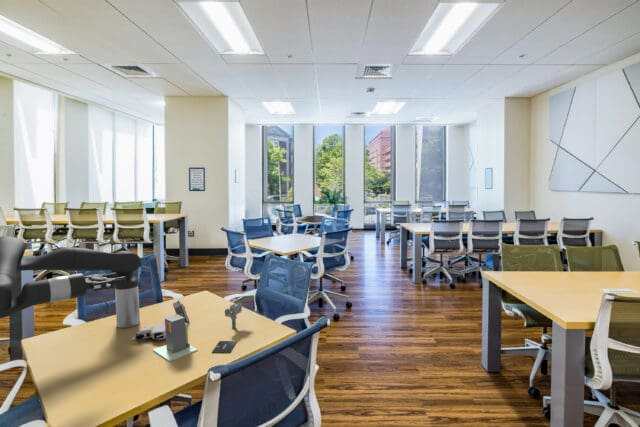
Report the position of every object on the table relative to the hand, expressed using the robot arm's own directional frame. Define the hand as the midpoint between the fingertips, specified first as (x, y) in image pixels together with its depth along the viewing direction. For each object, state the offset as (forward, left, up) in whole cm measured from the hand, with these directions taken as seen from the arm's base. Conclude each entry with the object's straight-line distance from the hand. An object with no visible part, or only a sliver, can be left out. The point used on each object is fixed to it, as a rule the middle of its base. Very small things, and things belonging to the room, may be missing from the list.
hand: (121, 277), depth 122 cm
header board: (+6, +15, -30) cm, 34 cm away
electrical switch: (-22, +32, -30) cm, 49 cm away
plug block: (+6, +16, -29) cm, 34 cm away
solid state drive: (+18, +29, -31) cm, 46 cm away
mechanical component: (+5, +42, -30) cm, 52 cm away
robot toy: (-12, +16, -30) cm, 36 cm away
